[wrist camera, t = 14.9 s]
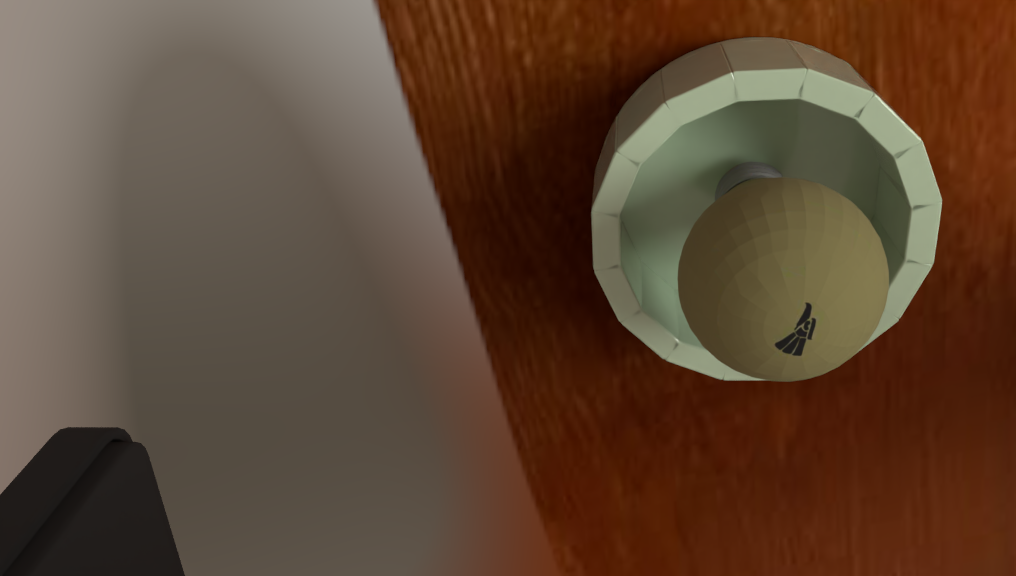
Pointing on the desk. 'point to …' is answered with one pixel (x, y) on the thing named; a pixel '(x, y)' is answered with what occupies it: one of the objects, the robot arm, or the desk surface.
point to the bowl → (749, 138)
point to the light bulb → (781, 276)
